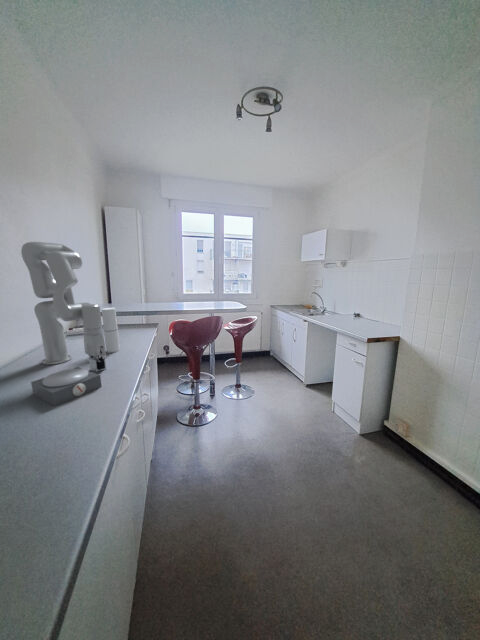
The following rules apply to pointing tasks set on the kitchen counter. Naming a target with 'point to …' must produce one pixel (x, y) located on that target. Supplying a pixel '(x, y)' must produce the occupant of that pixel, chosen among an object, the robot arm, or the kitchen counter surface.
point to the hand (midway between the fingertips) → (98, 367)
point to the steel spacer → (95, 364)
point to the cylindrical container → (110, 329)
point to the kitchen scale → (65, 385)
